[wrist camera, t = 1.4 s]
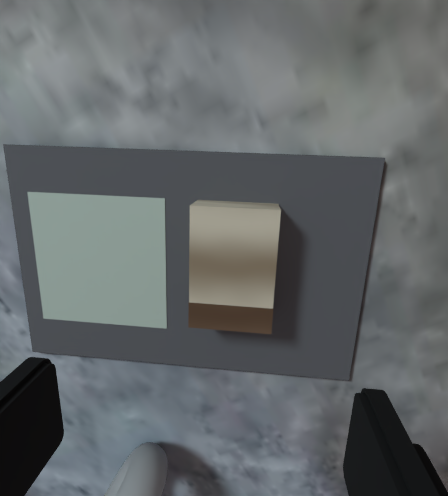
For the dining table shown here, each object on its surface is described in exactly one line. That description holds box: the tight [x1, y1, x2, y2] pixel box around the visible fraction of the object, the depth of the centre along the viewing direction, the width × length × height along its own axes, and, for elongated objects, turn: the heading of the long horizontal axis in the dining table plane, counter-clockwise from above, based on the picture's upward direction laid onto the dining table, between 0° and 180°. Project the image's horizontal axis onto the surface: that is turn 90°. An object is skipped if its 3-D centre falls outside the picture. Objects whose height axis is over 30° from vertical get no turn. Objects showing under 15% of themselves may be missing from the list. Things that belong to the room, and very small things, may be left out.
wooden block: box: [188, 200, 281, 334], centre depth 24 cm, size 9×6×3 cm
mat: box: [3, 144, 385, 381], centre depth 27 cm, size 18×28×1 cm, turn 88°
